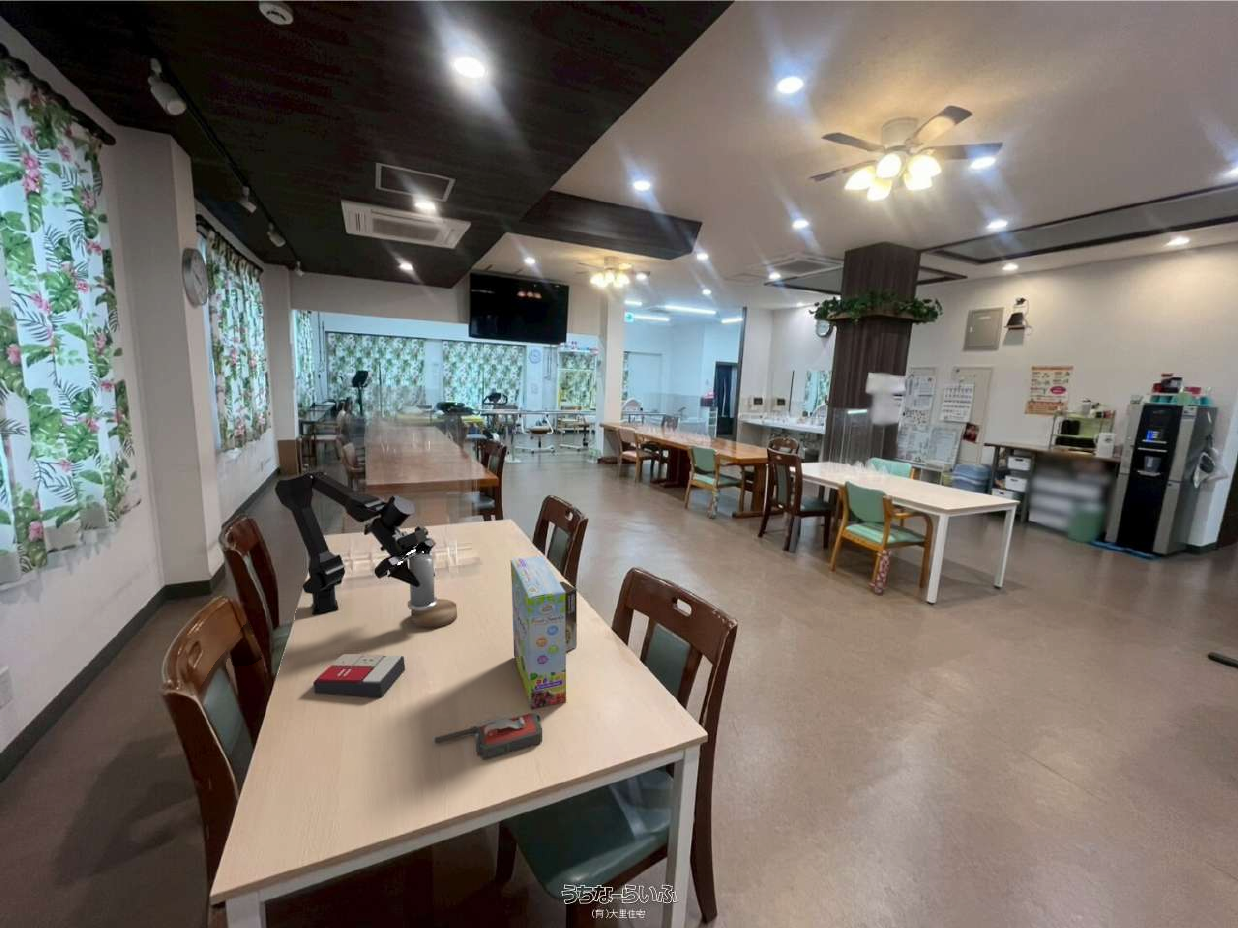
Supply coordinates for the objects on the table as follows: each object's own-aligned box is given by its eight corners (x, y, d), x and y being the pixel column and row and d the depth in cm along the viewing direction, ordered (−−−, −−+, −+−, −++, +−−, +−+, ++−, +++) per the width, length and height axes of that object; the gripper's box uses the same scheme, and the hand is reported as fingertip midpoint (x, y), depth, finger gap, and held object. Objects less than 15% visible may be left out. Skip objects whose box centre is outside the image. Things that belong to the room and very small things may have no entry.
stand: (407, 614, 146) (407, 604, 146) (450, 605, 153) (450, 596, 152) (416, 633, 137) (416, 622, 136) (462, 622, 143) (461, 612, 142)
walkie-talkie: (536, 716, 106) (434, 743, 98) (536, 696, 105) (433, 722, 97) (549, 744, 98) (439, 776, 90) (549, 723, 98) (438, 753, 89)
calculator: (342, 651, 121) (404, 652, 120) (344, 668, 122) (405, 669, 121) (311, 679, 110) (379, 680, 109) (314, 697, 111) (381, 699, 110)
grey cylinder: (402, 603, 138) (400, 557, 136) (428, 595, 144) (427, 550, 141) (416, 613, 133) (415, 565, 131) (443, 603, 139) (442, 558, 137)
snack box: (510, 656, 127) (508, 557, 122) (544, 650, 130) (545, 553, 125) (527, 711, 107) (527, 596, 102) (568, 703, 110) (569, 590, 105)
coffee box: (562, 637, 137) (562, 580, 134) (577, 647, 132) (578, 588, 129) (533, 649, 131) (533, 589, 128) (547, 660, 126) (548, 598, 123)
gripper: (381, 528, 127) (421, 577, 126) (429, 509, 144) (464, 552, 143) (357, 554, 130) (395, 602, 129) (406, 533, 148) (440, 575, 147)
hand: (426, 581), depth 137 cm, fingers closed on grey cylinder, 6 cm apart
